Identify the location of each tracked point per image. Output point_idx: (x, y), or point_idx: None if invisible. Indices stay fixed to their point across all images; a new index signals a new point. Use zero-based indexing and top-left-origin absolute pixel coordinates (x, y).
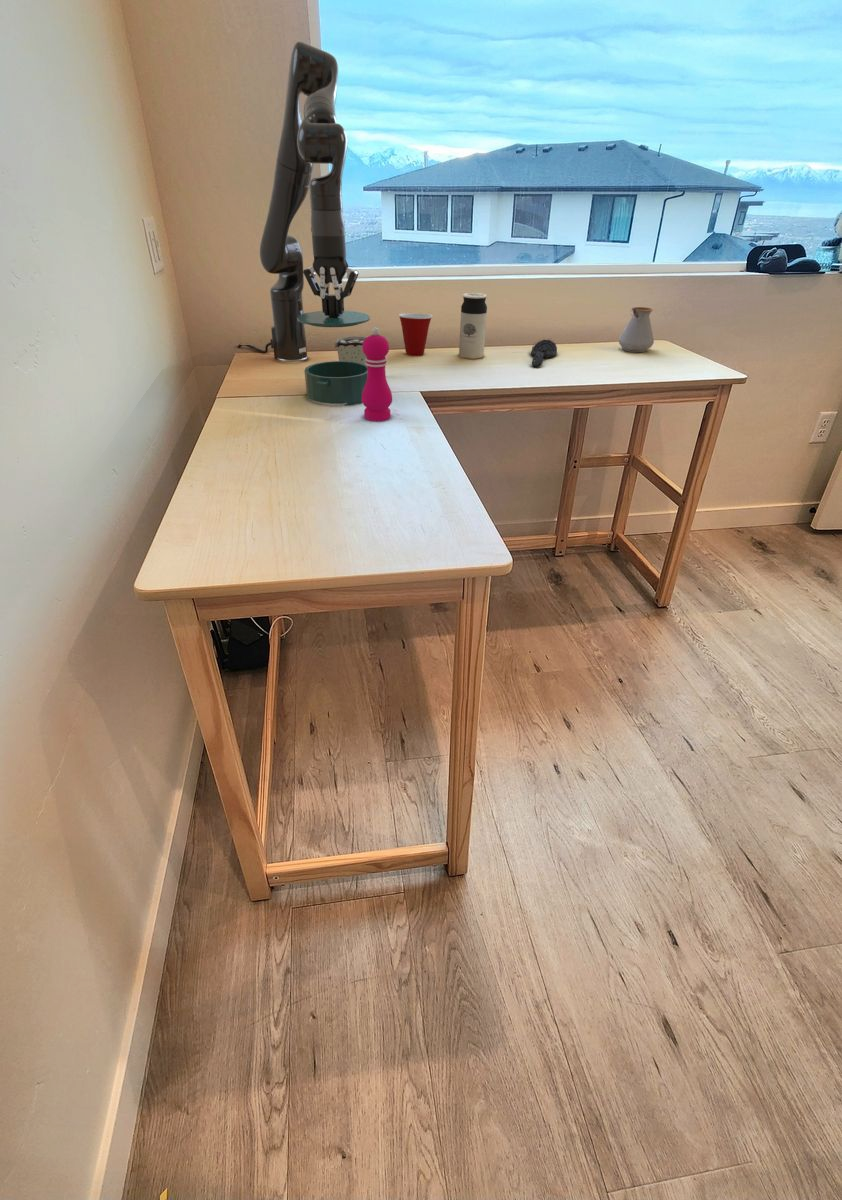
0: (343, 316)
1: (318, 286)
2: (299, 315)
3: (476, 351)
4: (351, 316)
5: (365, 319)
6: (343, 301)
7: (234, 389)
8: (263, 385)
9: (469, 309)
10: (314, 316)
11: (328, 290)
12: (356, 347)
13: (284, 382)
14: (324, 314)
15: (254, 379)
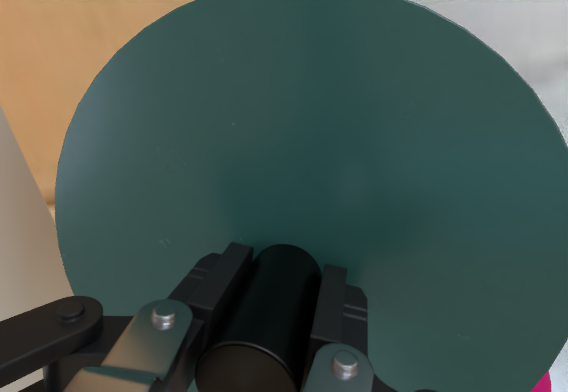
0: (355, 254)
1: (30, 368)
2: (61, 245)
3: None
4: (420, 250)
5: (547, 351)
6: (366, 352)
7: (24, 129)
8: (74, 73)
9: None
10: (159, 271)
11: (173, 368)
12: None
13: (116, 23)
14: (198, 195)
15: (16, 7)
